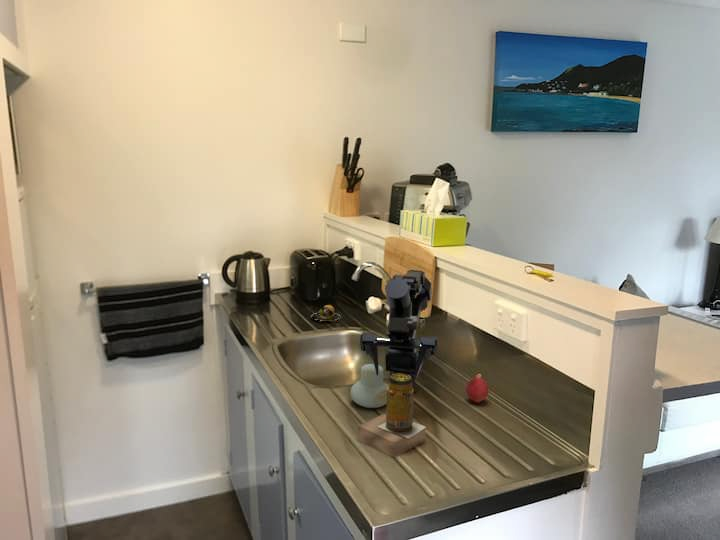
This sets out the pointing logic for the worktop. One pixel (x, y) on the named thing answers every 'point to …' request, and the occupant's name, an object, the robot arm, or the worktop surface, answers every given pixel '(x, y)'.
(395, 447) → the pinkish brown square block
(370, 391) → the air freshener
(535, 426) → the worktop surface
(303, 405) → the worktop surface
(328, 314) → the burger
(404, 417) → the condiment
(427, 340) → the robot arm
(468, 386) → the onion
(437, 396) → the worktop surface
